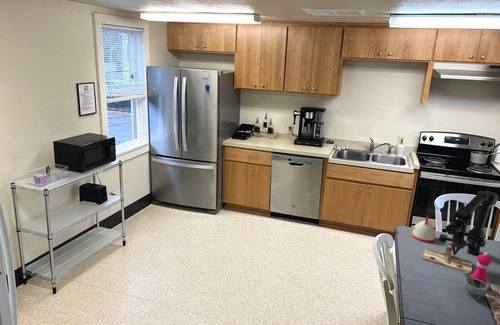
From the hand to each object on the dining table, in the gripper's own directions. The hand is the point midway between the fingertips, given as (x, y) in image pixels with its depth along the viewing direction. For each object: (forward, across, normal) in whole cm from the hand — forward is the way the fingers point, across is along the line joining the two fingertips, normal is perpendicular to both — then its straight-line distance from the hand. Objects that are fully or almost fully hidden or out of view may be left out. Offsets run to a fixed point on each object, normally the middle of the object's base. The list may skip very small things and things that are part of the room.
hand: (454, 255), depth 212 cm
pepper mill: (+4, +13, -21) cm, 25 cm away
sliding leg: (+2, -3, -2) cm, 4 cm away
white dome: (+4, -19, +22) cm, 29 cm away
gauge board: (+4, -3, -2) cm, 6 cm away
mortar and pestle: (+4, +11, -30) cm, 33 cm away
